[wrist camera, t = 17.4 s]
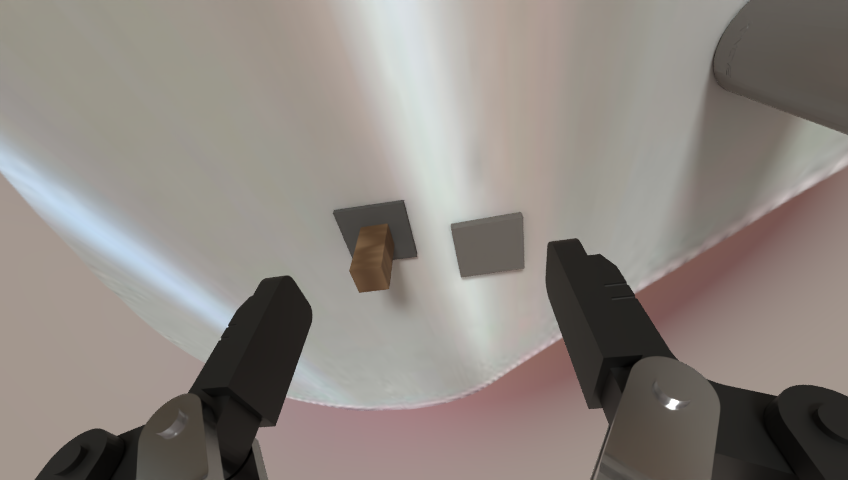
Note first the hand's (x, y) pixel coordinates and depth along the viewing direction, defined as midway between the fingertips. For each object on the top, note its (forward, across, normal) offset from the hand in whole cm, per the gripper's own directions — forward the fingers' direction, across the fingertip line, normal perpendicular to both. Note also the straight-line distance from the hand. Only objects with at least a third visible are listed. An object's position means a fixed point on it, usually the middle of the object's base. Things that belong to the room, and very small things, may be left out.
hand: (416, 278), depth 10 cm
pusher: (+26, +10, +18) cm, 33 cm away
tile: (+26, -4, +18) cm, 32 cm away
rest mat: (+26, +10, +18) cm, 33 cm away
